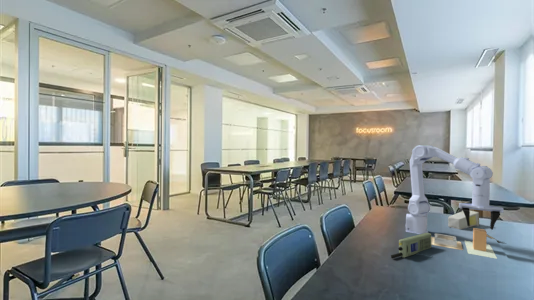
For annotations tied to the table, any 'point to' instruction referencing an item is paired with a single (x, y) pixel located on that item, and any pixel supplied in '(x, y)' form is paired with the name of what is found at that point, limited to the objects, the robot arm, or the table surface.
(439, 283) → the table surface
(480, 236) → the plug
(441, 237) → the grey square ring
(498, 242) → the adjustable wrench
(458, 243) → the base plate
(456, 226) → the block
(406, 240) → the handheld radio
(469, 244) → the mat
